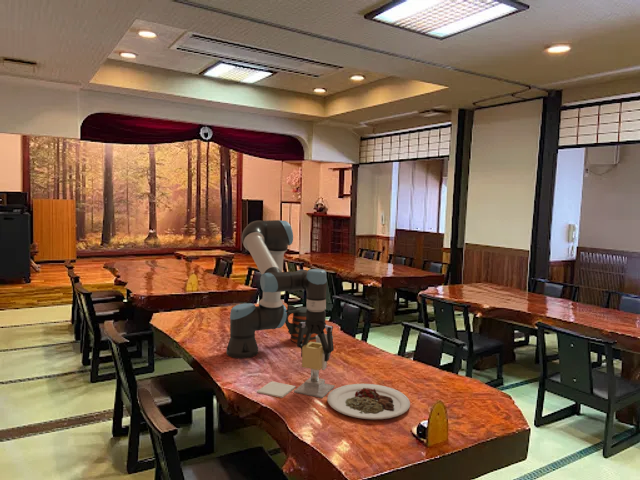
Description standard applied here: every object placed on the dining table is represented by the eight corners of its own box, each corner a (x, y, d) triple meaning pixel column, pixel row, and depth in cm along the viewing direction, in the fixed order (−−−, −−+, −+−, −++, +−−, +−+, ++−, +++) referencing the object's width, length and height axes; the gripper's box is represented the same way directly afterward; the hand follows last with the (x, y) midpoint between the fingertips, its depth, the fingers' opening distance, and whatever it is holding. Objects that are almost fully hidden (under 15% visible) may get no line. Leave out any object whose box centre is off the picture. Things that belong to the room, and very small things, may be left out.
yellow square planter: (302, 366, 182) (302, 346, 181) (310, 361, 189) (310, 341, 188) (319, 370, 179) (319, 349, 178) (327, 364, 186) (327, 344, 185)
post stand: (293, 392, 181) (294, 365, 180) (307, 381, 192) (307, 356, 191) (322, 398, 176) (322, 370, 176) (334, 386, 187) (335, 360, 187)
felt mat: (257, 392, 180) (257, 391, 180) (271, 382, 190) (271, 381, 190) (282, 397, 176) (282, 396, 176) (295, 387, 186) (295, 386, 186)
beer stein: (294, 347, 236) (294, 308, 234) (278, 340, 248) (278, 303, 246) (323, 341, 248) (324, 303, 246) (307, 334, 259) (307, 298, 258)
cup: (330, 360, 218) (331, 339, 217) (313, 359, 220) (314, 338, 219) (333, 355, 226) (334, 334, 225) (317, 353, 228) (317, 333, 227)
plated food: (350, 430, 153) (351, 420, 152) (314, 394, 180) (314, 386, 180) (427, 414, 165) (427, 405, 165) (382, 384, 192) (382, 375, 192)
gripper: (288, 308, 182) (287, 365, 185) (336, 315, 174) (335, 374, 176) (296, 304, 189) (295, 359, 191) (344, 310, 181) (342, 368, 183)
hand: (314, 367), depth 184 cm, fingers closed on yellow square planter, 7 cm apart
